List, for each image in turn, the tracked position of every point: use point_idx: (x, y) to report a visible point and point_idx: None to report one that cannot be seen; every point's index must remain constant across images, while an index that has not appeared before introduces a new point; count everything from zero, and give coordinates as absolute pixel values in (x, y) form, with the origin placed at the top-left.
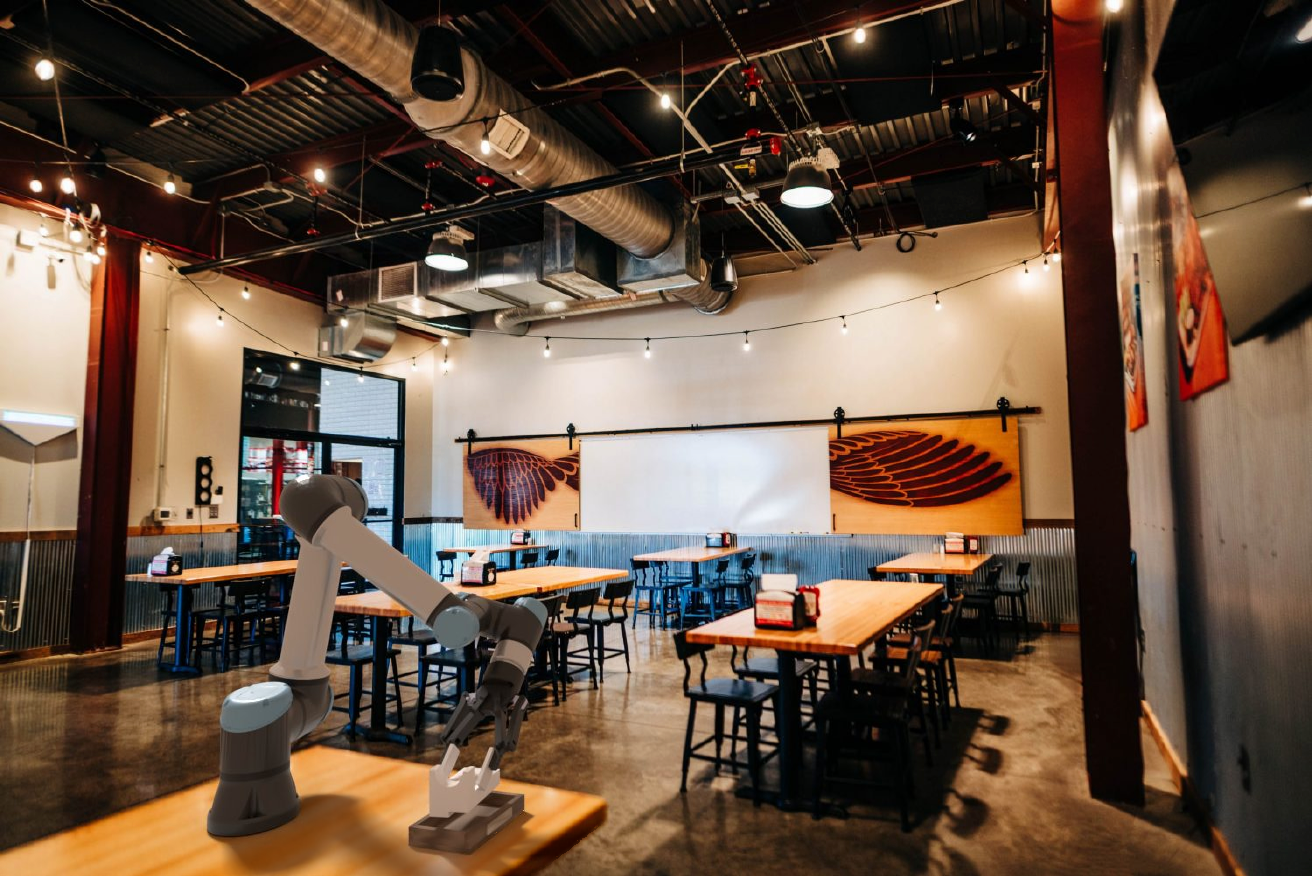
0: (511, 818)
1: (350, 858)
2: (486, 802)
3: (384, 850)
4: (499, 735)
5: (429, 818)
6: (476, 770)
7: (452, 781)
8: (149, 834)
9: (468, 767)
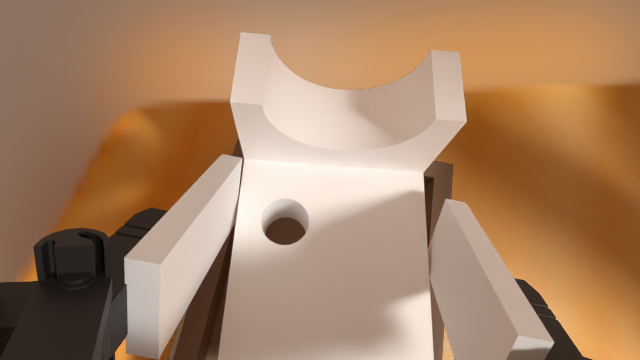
0: None
1: (529, 115)
2: None
3: (478, 156)
4: (25, 357)
5: (428, 237)
6: None
7: (351, 142)
8: None
9: (261, 86)
